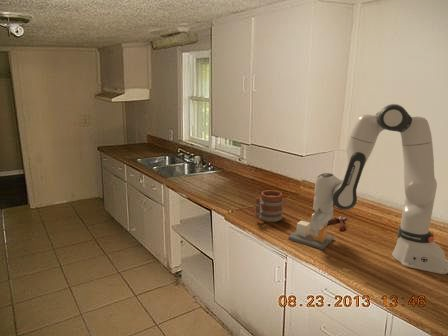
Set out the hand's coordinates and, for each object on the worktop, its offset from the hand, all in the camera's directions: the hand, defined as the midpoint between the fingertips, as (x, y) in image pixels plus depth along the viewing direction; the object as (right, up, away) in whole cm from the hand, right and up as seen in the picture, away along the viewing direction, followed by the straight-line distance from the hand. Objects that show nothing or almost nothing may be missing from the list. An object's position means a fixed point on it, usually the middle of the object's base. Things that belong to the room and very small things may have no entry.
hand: (320, 232), depth 165 cm
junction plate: (-4, -4, +4) cm, 7 cm away
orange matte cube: (0, -3, +1) cm, 4 cm away
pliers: (+17, 0, +23) cm, 29 cm away
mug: (-22, +2, +30) cm, 37 cm away
